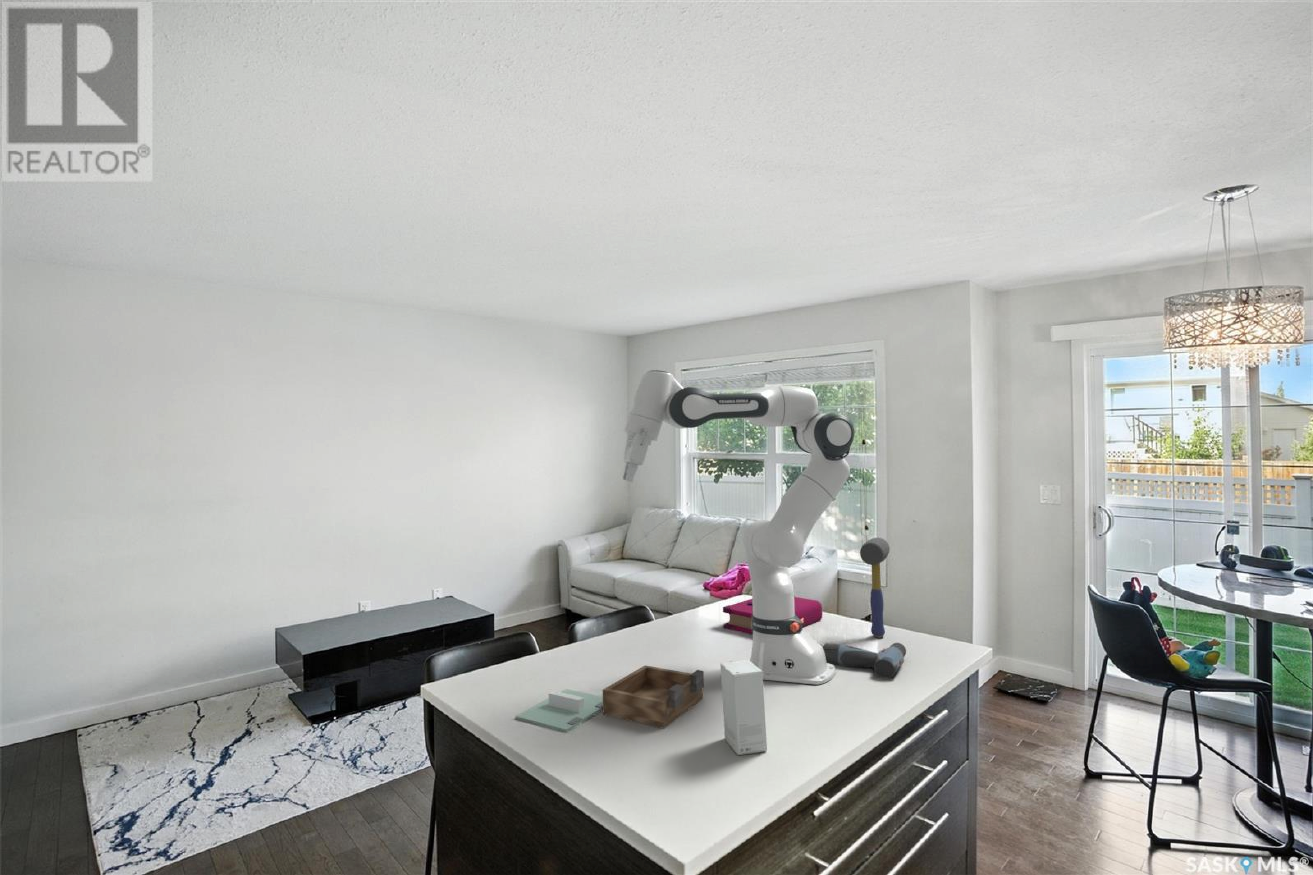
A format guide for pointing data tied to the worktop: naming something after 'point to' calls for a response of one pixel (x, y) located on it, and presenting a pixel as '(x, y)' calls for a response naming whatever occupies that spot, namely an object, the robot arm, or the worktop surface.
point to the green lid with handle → (563, 710)
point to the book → (744, 611)
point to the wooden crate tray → (653, 695)
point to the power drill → (867, 657)
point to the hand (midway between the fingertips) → (627, 480)
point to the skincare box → (743, 707)
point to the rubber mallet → (876, 580)
